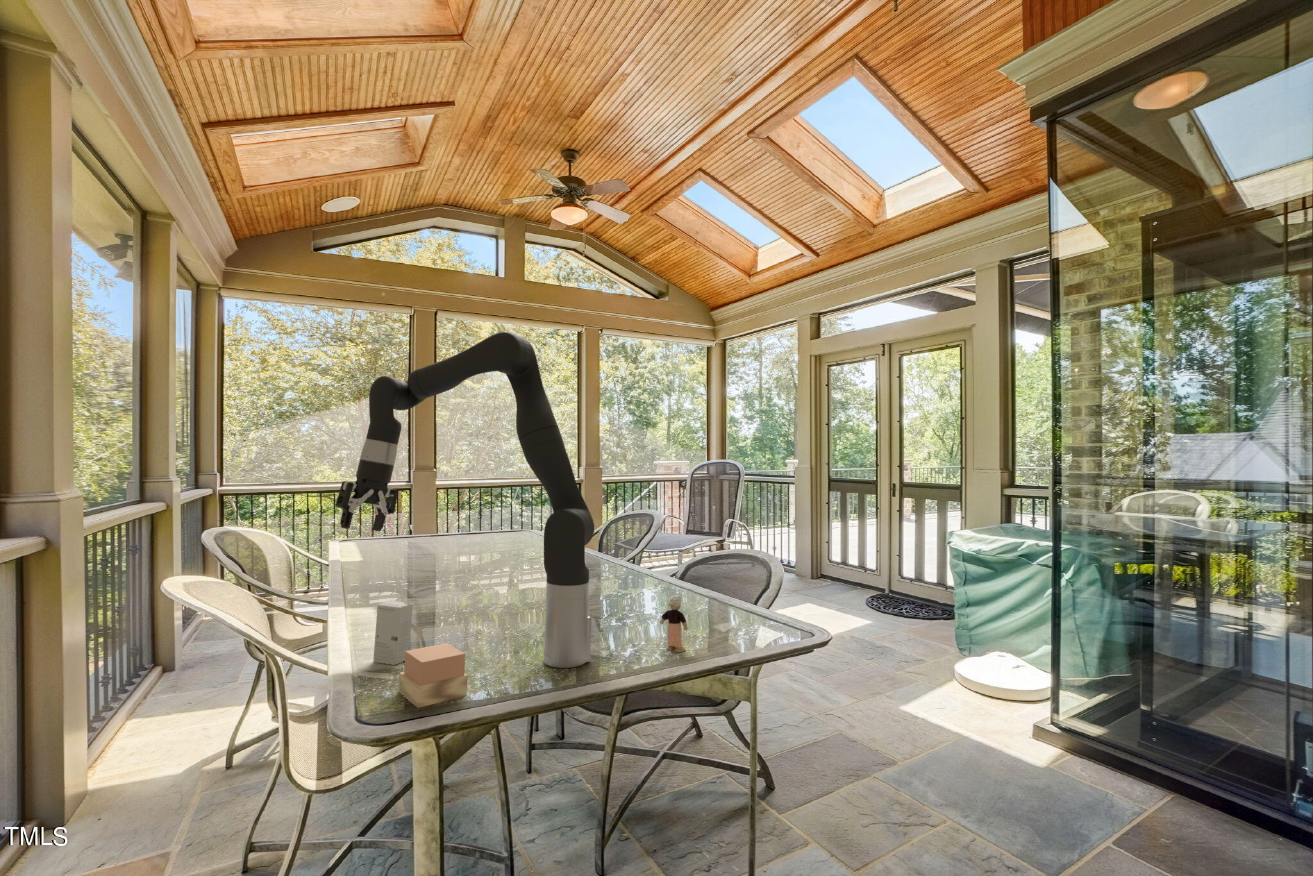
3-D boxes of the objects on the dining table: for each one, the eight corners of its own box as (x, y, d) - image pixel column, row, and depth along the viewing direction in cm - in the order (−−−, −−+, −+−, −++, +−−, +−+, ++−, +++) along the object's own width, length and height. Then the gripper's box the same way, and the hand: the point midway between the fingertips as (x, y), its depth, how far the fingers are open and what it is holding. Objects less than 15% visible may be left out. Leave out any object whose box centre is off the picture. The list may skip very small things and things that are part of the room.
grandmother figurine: (691, 649, 144) (693, 595, 144) (685, 654, 140) (687, 598, 141) (662, 644, 147) (663, 591, 147) (655, 648, 143) (656, 594, 144)
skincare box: (372, 662, 129) (374, 604, 129) (387, 656, 133) (390, 600, 134) (396, 666, 127) (398, 607, 127) (411, 659, 131) (413, 602, 132)
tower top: (446, 664, 118) (446, 643, 118) (464, 675, 112) (465, 653, 112) (404, 672, 113) (405, 651, 113) (420, 685, 107) (421, 662, 107)
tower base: (445, 683, 119) (446, 662, 119) (466, 697, 112) (467, 675, 112) (398, 694, 113) (399, 672, 113) (417, 709, 106) (418, 686, 106)
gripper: (362, 457, 136) (344, 530, 133) (412, 467, 148) (397, 534, 146) (340, 454, 139) (322, 524, 137) (391, 464, 151) (376, 529, 149)
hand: (361, 529), depth 141 cm, fingers open, 8 cm apart
